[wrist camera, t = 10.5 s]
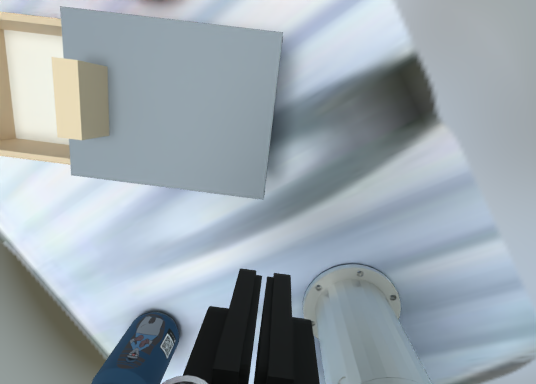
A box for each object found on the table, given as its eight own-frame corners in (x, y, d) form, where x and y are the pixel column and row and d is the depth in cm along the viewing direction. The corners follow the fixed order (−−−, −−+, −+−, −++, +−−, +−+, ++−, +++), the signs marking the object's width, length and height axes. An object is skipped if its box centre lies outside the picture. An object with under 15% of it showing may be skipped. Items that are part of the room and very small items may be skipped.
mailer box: (161, 160, 37) (133, 172, 30) (15, 142, 37) (-44, 150, 30) (163, 43, 33) (132, 27, 26) (2, 24, 33) (-69, 3, 27)
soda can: (147, 353, 45) (100, 438, 33) (126, 315, 43) (68, 391, 32) (189, 341, 44) (156, 425, 32) (169, 301, 42) (126, 375, 31)
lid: (264, 195, 31) (259, 213, 25) (81, 171, 31) (39, 185, 26) (282, 36, 27) (282, 19, 21) (72, 11, 27) (20, -12, 22)
